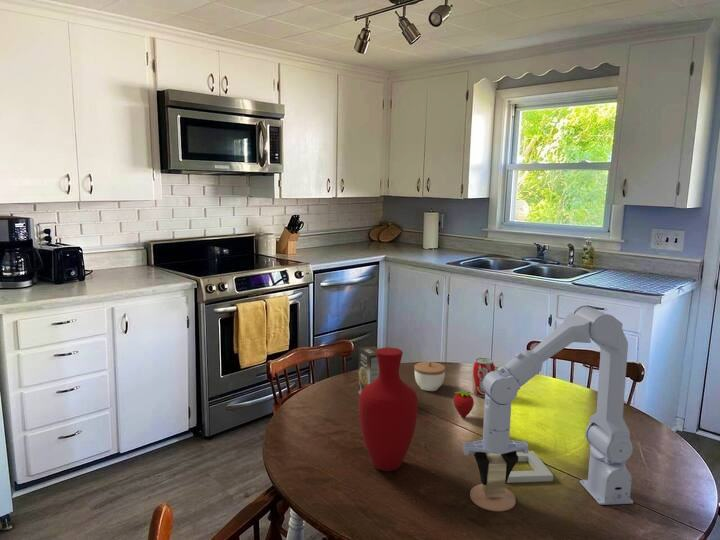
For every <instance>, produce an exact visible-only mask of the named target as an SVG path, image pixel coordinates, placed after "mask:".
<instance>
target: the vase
mask: <svg viewBox="0 0 720 540" xmlns="http://www.w3.org/2000/svg"><path fill="white" fill-rule="evenodd" d="M376 354H377V360H378V365H379V375H378V377H377V379H376V380H375V381H374V382H372V383H370V384H368V385H367V386H365V387H364V388H363V390H362V391H361V393H360V394H359V397H358V415H359V424H360V429H361V435H362V438H363V442H364V445H365V447H366V451H367V452H368V456H369V458H370V460H371V462H372V465H373V466H374V468H376V469H377V470H379V471H384V472H394V471H396V470H398V469H399V468H400V467H401V465H402V463H403V461H404V459H405V457H406V456H407V452H408V451H409V448H410V446H411V442H412V441H413V438H414V437H413V436H414V434H415V430H416V424H417V418H418V411H419V410H418V409H419V400H418V395H417V392H416V391H415V390H414V388H413V387H412V386H410V385H408V384H407V383H405V382H404V381H403V380H402V379H401V378H400V365H401V362H402V357H403V354H404V353H403V351H402V350H401V349H399V348H396V347H390V346H389V347H381V348H378V350H377V351H376Z"/></svg>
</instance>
